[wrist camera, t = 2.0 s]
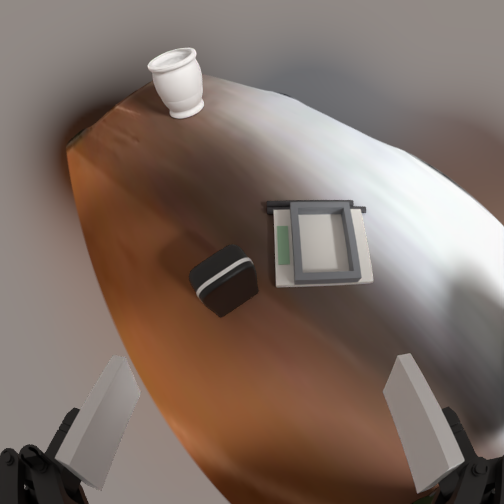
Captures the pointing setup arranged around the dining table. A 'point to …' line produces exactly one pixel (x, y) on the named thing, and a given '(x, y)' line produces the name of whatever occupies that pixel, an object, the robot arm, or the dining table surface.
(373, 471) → the dining table surface
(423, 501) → the flower pot
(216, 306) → the black rounded block
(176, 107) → the jar
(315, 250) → the panel board
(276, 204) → the slim dark grey rod
